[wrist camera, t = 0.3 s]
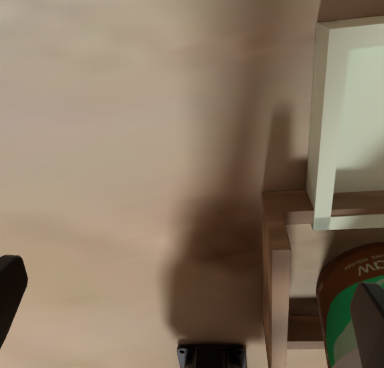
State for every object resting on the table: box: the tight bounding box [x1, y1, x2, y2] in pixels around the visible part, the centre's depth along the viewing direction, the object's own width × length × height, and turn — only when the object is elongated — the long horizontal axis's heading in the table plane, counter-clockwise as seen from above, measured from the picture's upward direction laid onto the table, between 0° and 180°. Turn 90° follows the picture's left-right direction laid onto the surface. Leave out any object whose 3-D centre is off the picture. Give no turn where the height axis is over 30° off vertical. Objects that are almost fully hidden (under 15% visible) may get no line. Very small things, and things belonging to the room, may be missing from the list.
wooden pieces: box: [262, 190, 384, 368], centre depth 24 cm, size 14×13×6 cm
